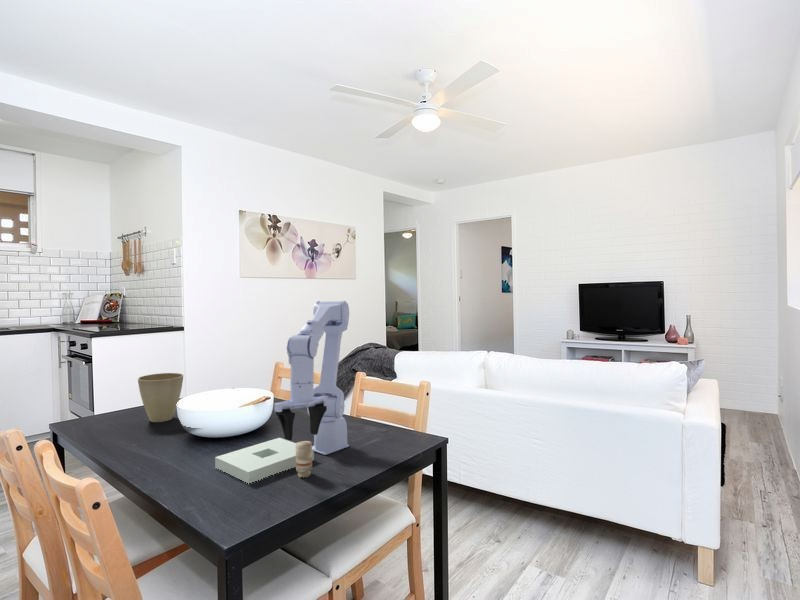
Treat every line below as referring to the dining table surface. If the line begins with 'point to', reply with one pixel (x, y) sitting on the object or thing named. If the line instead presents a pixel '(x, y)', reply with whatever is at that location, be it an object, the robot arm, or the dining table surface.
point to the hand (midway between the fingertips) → (301, 436)
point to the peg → (304, 458)
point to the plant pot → (160, 394)
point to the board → (259, 460)
